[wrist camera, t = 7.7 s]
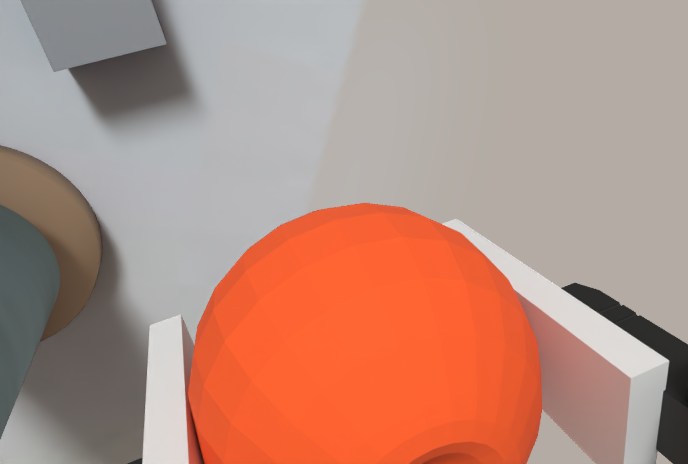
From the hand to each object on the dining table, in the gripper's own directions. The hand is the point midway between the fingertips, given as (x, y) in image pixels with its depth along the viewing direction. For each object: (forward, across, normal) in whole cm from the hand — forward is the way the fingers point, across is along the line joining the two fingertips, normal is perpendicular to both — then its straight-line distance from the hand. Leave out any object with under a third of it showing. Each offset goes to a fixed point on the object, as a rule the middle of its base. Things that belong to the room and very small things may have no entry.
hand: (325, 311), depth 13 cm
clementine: (+1, 0, 0) cm, 1 cm away
